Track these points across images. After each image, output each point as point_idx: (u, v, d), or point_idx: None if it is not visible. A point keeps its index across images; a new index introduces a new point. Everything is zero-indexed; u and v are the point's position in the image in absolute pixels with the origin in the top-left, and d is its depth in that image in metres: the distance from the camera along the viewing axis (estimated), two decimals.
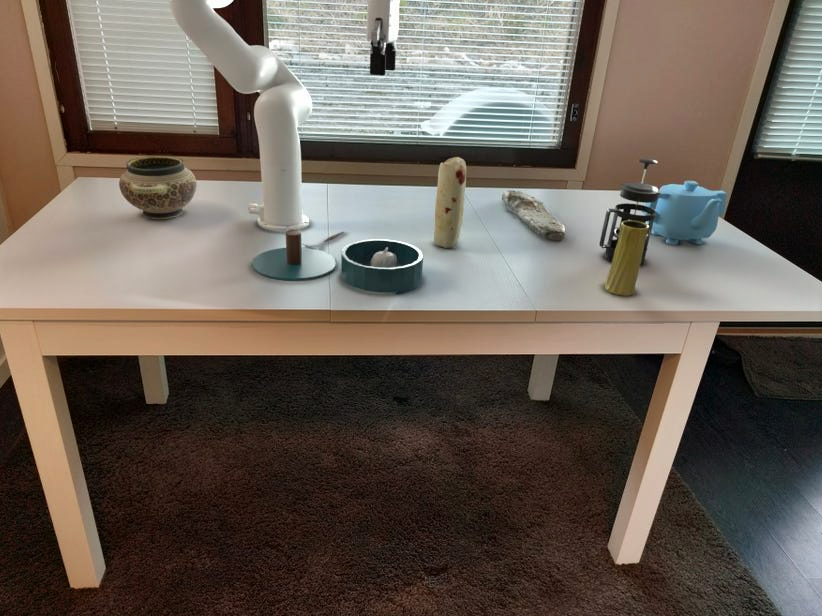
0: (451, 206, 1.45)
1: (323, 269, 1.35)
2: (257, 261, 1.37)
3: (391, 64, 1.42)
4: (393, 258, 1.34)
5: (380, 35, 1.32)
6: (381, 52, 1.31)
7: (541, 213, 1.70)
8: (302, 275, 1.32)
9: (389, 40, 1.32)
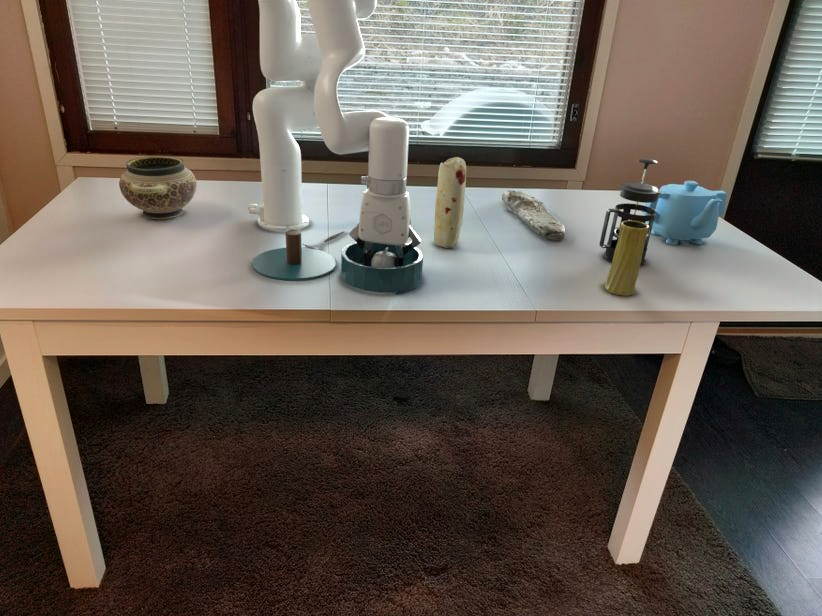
0: (451, 206, 1.45)
1: (323, 269, 1.35)
2: (257, 261, 1.37)
3: None
4: (393, 258, 1.34)
5: None
6: None
7: (541, 213, 1.70)
8: (302, 275, 1.32)
9: None
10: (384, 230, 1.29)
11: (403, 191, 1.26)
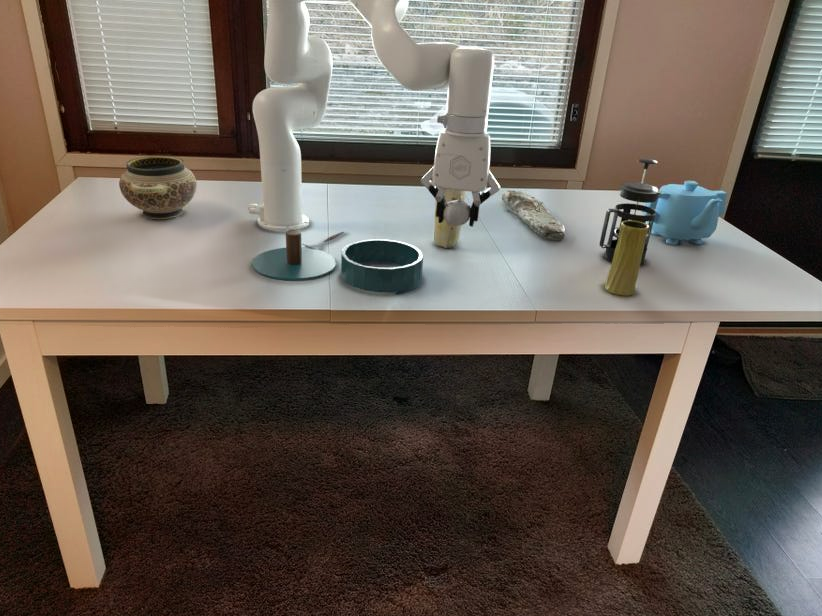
0: None
1: (323, 269, 1.35)
2: (257, 261, 1.37)
3: None
4: (468, 207, 1.23)
5: None
6: None
7: (541, 213, 1.70)
8: (302, 275, 1.32)
9: None
10: (461, 174, 1.18)
11: (484, 130, 1.15)
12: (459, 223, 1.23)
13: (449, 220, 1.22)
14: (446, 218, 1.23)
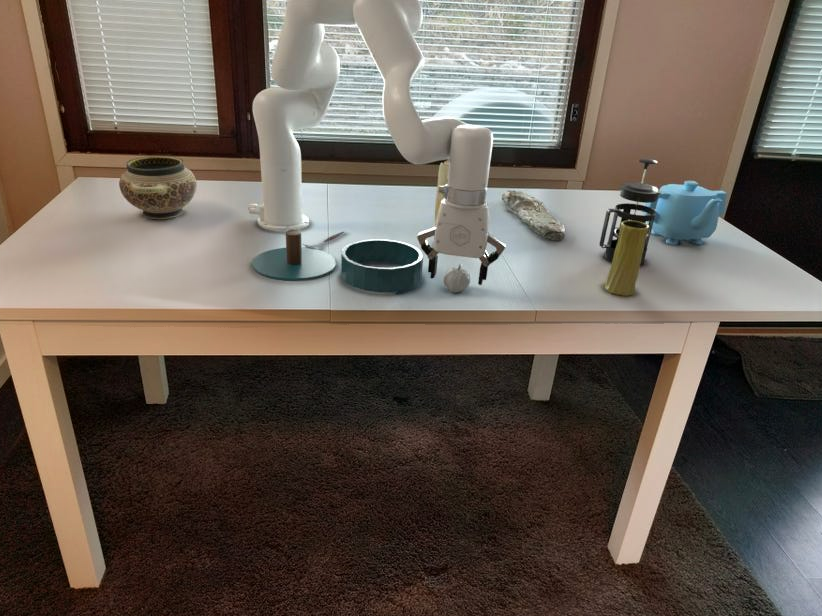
0: None
1: (323, 269, 1.35)
2: (257, 261, 1.37)
3: (436, 268, 1.31)
4: (467, 275, 1.29)
5: None
6: None
7: (541, 213, 1.70)
8: (302, 275, 1.32)
9: None
10: (461, 242, 1.24)
11: (483, 202, 1.21)
12: (459, 290, 1.29)
13: (449, 288, 1.29)
14: (446, 285, 1.30)
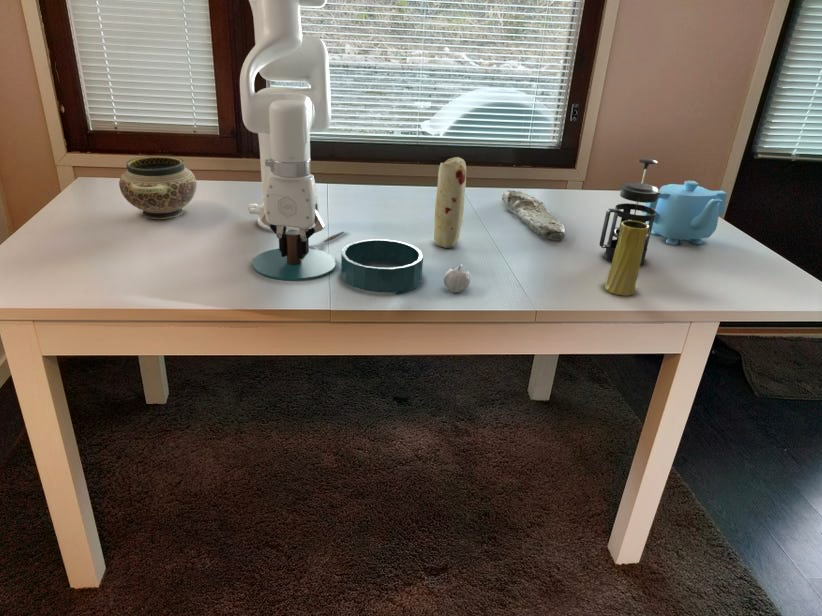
0: (451, 206, 1.45)
1: (323, 269, 1.35)
2: (257, 261, 1.37)
3: None
4: (467, 275, 1.29)
5: None
6: None
7: (541, 213, 1.70)
8: (302, 275, 1.32)
9: None
10: (289, 213, 1.29)
11: (306, 174, 1.26)
12: (459, 290, 1.29)
13: (449, 288, 1.29)
14: (446, 285, 1.30)
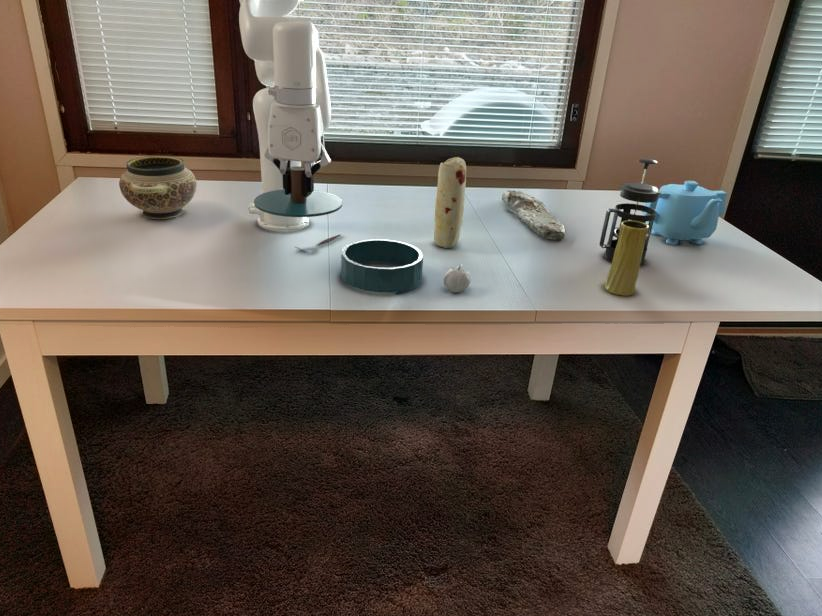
0: (451, 206, 1.45)
1: (329, 207, 1.28)
2: (259, 199, 1.30)
3: None
4: (467, 275, 1.29)
5: None
6: (314, 173, 1.28)
7: (541, 213, 1.70)
8: (307, 212, 1.25)
9: None
10: (294, 145, 1.22)
11: (312, 102, 1.19)
12: (459, 290, 1.29)
13: (449, 288, 1.29)
14: (446, 285, 1.30)
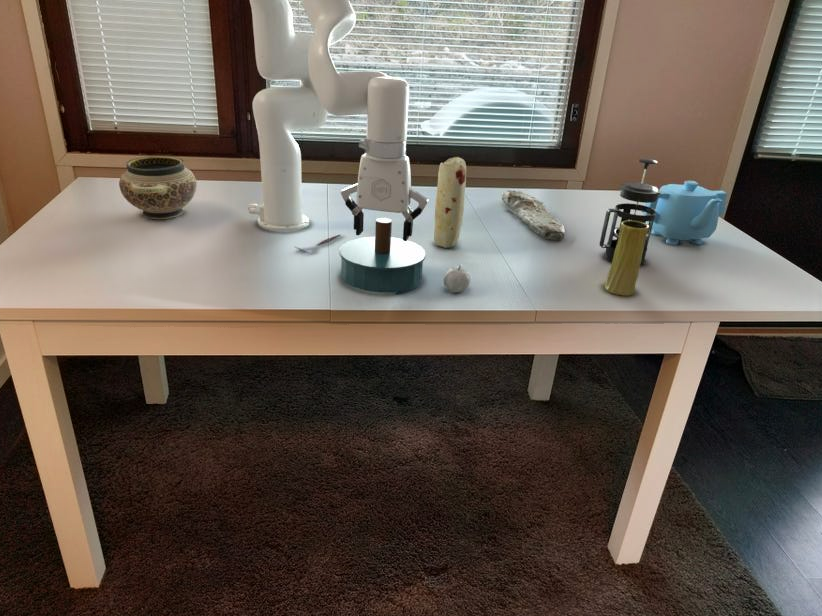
0: (451, 206, 1.45)
1: (414, 258, 1.29)
2: (344, 250, 1.31)
3: (362, 226, 1.31)
4: (467, 275, 1.29)
5: None
6: None
7: (541, 213, 1.70)
8: (395, 264, 1.26)
9: None
10: (383, 196, 1.24)
11: (403, 155, 1.21)
12: (459, 290, 1.29)
13: (449, 288, 1.29)
14: (446, 285, 1.30)
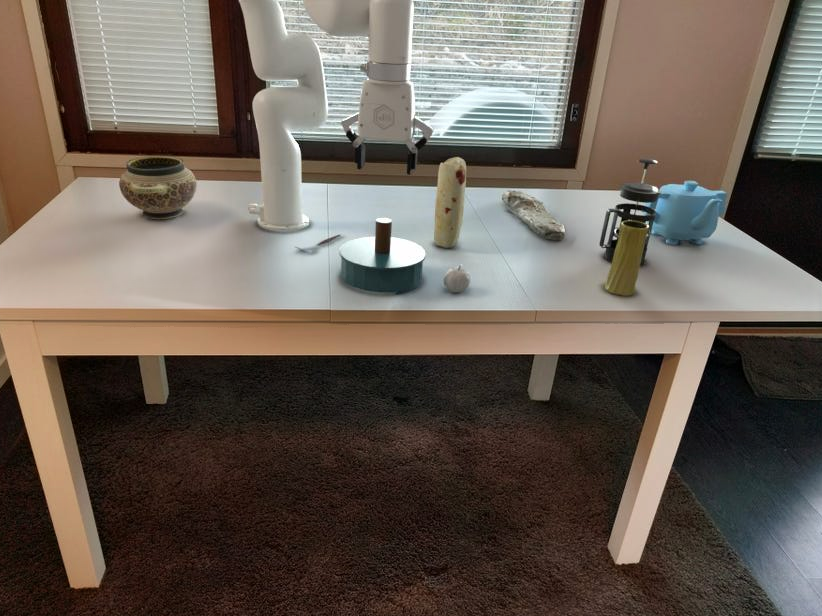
0: (451, 206, 1.45)
1: (414, 258, 1.29)
2: (344, 250, 1.31)
3: (364, 160, 1.25)
4: (467, 275, 1.29)
5: None
6: None
7: (541, 213, 1.70)
8: (395, 264, 1.26)
9: None
10: (386, 124, 1.17)
11: (407, 78, 1.14)
12: (459, 290, 1.29)
13: (449, 288, 1.29)
14: (446, 285, 1.30)
